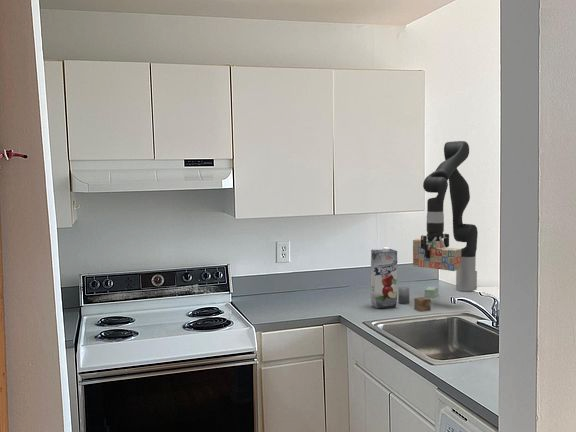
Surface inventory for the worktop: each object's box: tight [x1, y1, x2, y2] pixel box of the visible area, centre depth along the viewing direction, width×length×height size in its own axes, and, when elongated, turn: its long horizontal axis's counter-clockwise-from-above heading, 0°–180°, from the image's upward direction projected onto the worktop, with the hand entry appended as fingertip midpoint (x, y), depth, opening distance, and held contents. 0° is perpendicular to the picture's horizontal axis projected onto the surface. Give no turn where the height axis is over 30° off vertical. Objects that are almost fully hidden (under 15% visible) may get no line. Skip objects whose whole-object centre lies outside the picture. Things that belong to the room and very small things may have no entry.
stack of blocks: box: [412, 238, 462, 272], centre depth 270 cm, size 21×6×12 cm, turn 44°
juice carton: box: [370, 246, 398, 310], centre depth 268 cm, size 9×10×27 cm
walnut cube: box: [413, 296, 432, 313], centre depth 263 cm, size 5×5×5 cm
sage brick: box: [424, 286, 439, 299], centre depth 289 cm, size 8×4×4 cm, turn 149°
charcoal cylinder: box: [397, 286, 410, 305], centre depth 275 cm, size 5×5×7 cm
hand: (434, 257), depth 271 cm, fingers closed on stack of blocks, 7 cm apart
